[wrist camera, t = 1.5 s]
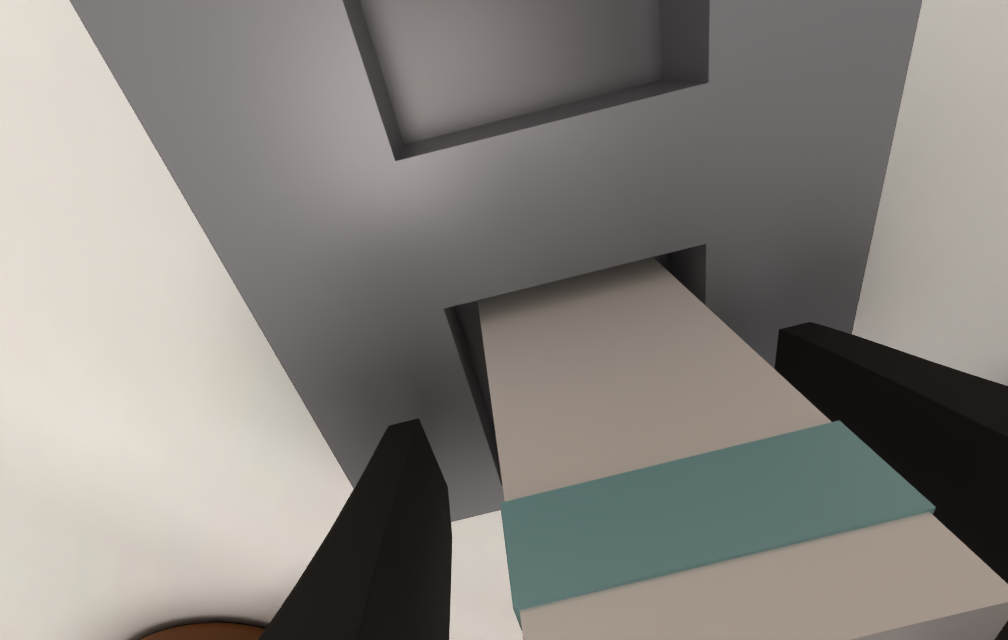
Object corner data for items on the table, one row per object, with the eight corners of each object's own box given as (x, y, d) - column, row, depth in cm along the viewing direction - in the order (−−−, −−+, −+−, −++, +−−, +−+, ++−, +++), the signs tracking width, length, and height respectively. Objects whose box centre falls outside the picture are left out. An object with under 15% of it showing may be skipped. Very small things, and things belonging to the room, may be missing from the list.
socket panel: (893, -502, 6) (1078, -740, 4) (781, 382, 13) (831, 429, 12) (10, -270, 6) (-169, -408, 4) (390, 477, 14) (382, 538, 12)
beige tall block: (644, 244, 10) (1272, 810, 3) (652, 380, 13) (1012, 929, 5) (473, 287, 10) (558, 976, 3) (509, 415, 13) (619, 1019, 5)
